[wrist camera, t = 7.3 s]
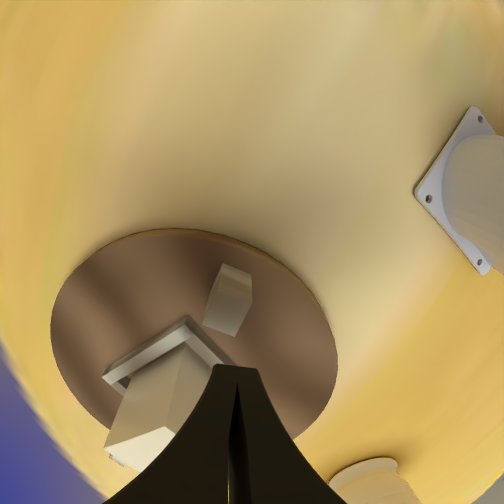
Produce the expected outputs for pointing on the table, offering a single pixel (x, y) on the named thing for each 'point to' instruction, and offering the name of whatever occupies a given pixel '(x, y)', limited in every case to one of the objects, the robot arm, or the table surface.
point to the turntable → (192, 320)
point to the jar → (373, 484)
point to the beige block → (156, 407)
